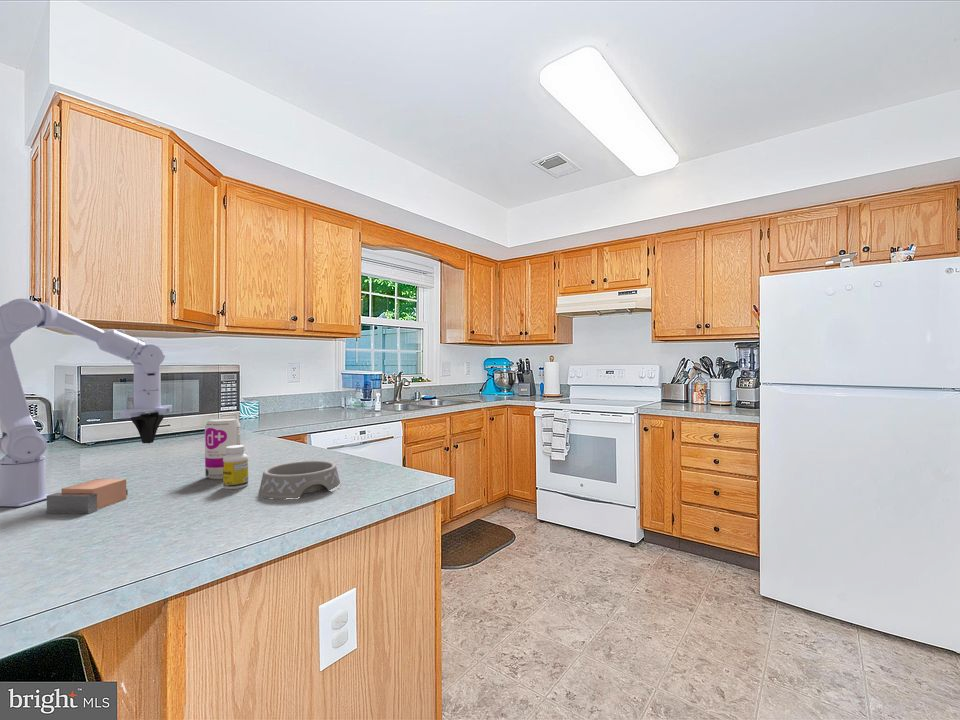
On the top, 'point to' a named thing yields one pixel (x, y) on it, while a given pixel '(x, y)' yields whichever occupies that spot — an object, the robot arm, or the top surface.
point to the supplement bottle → (235, 467)
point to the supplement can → (219, 444)
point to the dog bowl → (298, 479)
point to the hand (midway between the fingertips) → (147, 442)
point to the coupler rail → (72, 502)
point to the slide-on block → (101, 490)
